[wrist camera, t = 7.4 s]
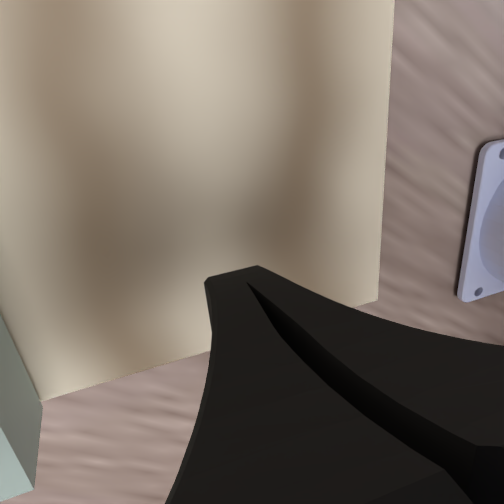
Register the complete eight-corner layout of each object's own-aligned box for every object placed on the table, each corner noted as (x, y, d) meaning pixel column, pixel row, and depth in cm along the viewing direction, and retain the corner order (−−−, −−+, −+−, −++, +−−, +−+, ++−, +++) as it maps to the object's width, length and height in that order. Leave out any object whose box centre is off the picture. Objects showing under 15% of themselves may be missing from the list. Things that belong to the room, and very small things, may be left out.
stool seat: (359, -111, 13) (498, -190, 9) (350, 277, 19) (429, 343, 15) (-481, -109, 8) (-1118, -286, 4) (-126, 410, 14) (-215, 566, 10)
